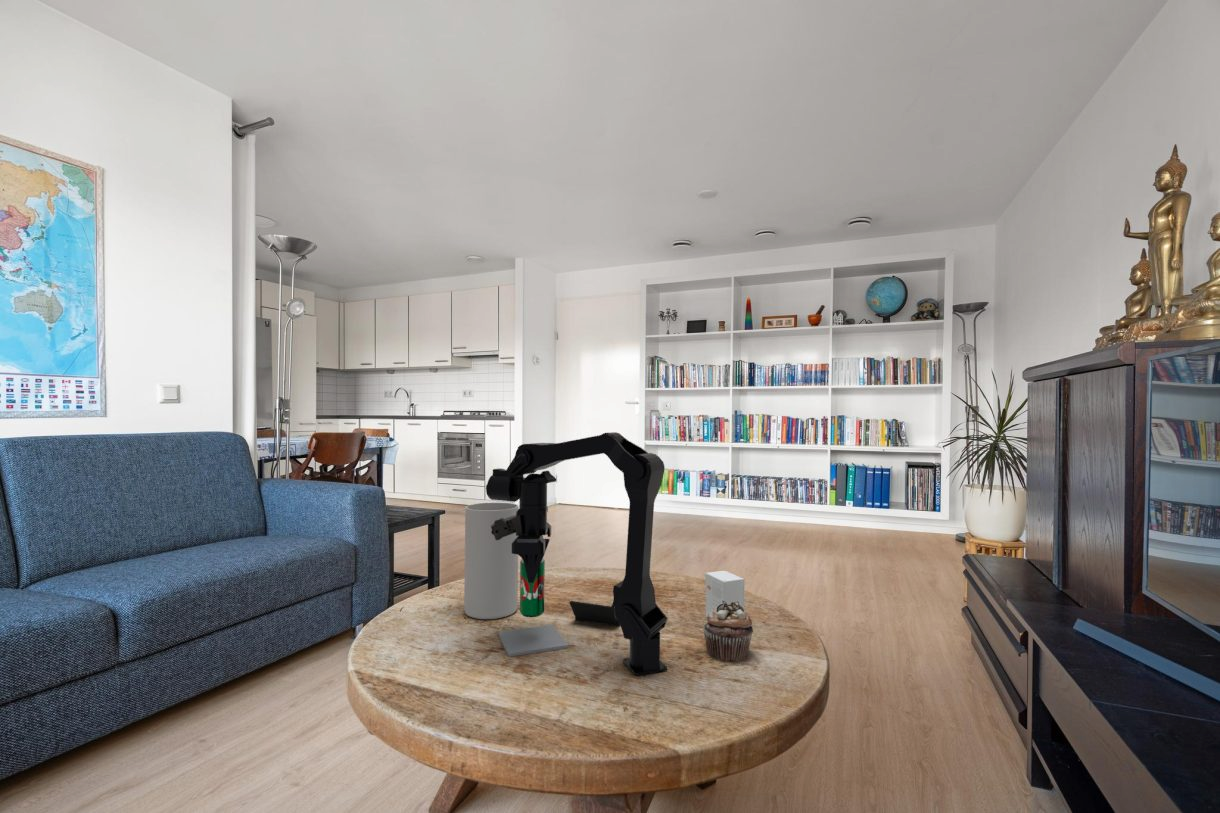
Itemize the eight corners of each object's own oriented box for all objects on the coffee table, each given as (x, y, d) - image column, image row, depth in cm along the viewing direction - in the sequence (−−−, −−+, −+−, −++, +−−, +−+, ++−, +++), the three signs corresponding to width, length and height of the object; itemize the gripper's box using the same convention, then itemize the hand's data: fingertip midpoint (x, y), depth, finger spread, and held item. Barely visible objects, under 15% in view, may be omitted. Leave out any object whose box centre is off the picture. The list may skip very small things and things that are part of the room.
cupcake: (740, 642, 118) (740, 593, 118) (760, 662, 108) (760, 609, 108) (696, 644, 116) (696, 595, 117) (712, 665, 107) (712, 611, 107)
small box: (745, 626, 127) (745, 578, 127) (723, 629, 125) (724, 581, 125) (725, 614, 134) (725, 569, 134) (704, 617, 132) (705, 572, 132)
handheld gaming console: (628, 608, 134) (619, 582, 128) (627, 636, 128) (617, 610, 122) (582, 611, 136) (570, 585, 130) (578, 639, 130) (566, 613, 125)
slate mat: (568, 648, 114) (568, 645, 114) (508, 656, 110) (508, 653, 110) (552, 627, 125) (552, 624, 125) (497, 634, 121) (497, 631, 121)
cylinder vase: (511, 600, 143) (512, 501, 144) (522, 616, 132) (523, 509, 132) (461, 605, 139) (462, 503, 139) (467, 623, 127) (468, 511, 128)
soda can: (545, 609, 120) (545, 553, 120) (543, 618, 115) (543, 558, 115) (521, 609, 120) (521, 553, 120) (518, 618, 115) (518, 559, 115)
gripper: (502, 497, 127) (501, 566, 127) (485, 510, 108) (484, 592, 108) (551, 497, 127) (551, 566, 127) (543, 510, 109) (543, 592, 108)
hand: (532, 578), depth 118 cm, fingers closed on soda can, 5 cm apart
